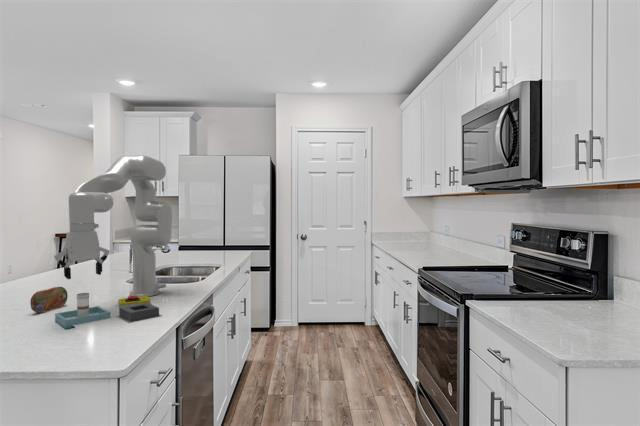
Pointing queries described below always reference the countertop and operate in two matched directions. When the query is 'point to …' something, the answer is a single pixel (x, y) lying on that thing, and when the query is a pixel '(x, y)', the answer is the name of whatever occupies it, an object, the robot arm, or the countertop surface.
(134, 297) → the emergency button
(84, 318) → the parts tray
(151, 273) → the robot arm
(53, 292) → the tin
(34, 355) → the countertop surface
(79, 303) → the fuse
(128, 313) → the fuse panel
